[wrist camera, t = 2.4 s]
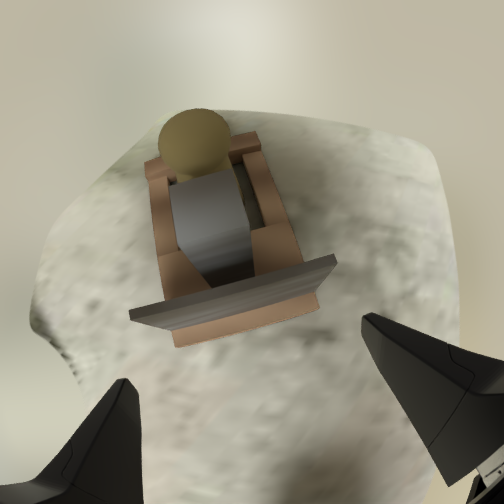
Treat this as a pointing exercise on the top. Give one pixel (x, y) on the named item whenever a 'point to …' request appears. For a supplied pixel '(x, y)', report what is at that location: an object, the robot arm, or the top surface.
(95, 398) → the top surface
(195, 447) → the top surface
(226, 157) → the tan rounded peg
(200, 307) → the wooden shape sorter tray
